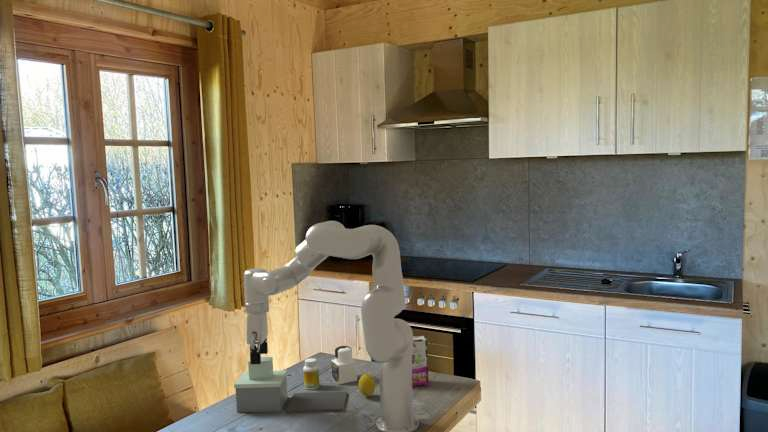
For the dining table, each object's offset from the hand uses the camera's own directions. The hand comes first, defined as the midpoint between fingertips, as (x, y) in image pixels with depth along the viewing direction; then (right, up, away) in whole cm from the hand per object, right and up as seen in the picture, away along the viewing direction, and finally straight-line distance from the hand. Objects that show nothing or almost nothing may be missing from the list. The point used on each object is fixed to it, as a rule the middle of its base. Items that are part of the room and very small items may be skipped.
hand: (259, 358), depth 187 cm
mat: (+19, -15, +1) cm, 24 cm away
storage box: (+1, -15, +1) cm, 15 cm away
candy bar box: (+50, -13, +14) cm, 54 cm away
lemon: (+35, -14, +4) cm, 38 cm away
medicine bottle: (+26, -13, +20) cm, 36 cm away
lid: (+1, -7, 0) cm, 7 cm away
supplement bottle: (+15, -14, +15) cm, 25 cm away
